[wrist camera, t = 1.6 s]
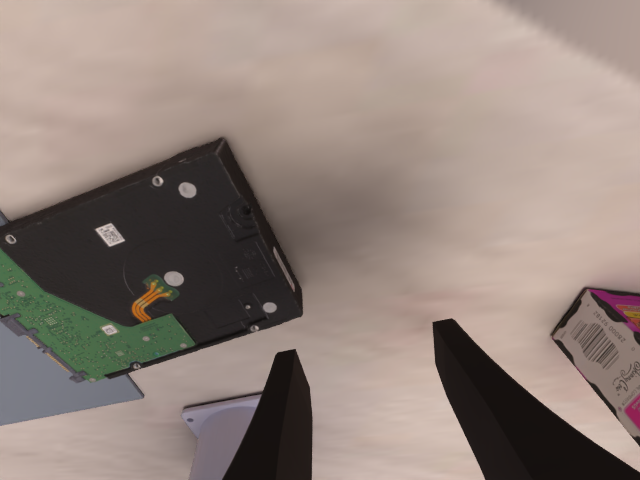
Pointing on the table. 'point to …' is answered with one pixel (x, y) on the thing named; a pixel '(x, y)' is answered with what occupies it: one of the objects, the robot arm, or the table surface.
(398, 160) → the table surface
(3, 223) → the mat
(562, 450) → the robot arm
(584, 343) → the candy bar box
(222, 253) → the disk drive
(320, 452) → the table surface
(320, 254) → the table surface
